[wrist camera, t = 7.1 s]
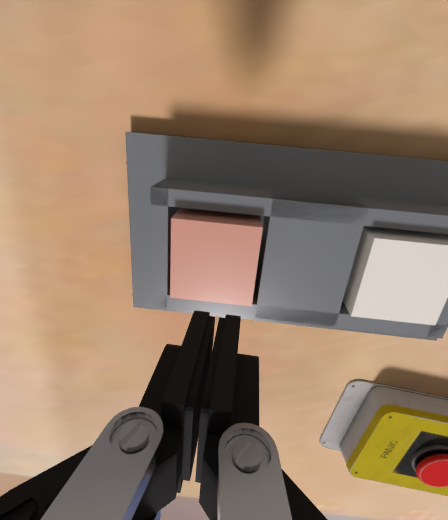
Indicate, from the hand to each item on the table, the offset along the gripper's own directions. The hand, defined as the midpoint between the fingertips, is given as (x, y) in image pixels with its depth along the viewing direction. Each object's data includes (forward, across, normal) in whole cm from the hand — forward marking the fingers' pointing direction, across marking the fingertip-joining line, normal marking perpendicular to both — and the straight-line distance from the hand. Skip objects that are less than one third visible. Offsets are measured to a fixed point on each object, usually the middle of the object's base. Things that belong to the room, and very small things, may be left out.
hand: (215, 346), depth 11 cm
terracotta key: (+10, +1, 0) cm, 10 cm away
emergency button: (+14, -18, +18) cm, 29 cm away
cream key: (+11, -10, 0) cm, 14 cm away
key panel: (+12, -4, 0) cm, 13 cm away
